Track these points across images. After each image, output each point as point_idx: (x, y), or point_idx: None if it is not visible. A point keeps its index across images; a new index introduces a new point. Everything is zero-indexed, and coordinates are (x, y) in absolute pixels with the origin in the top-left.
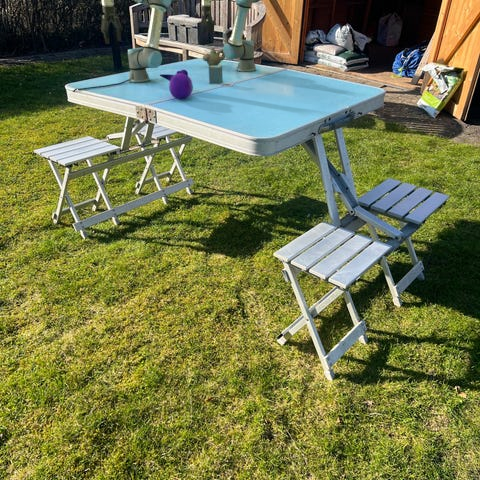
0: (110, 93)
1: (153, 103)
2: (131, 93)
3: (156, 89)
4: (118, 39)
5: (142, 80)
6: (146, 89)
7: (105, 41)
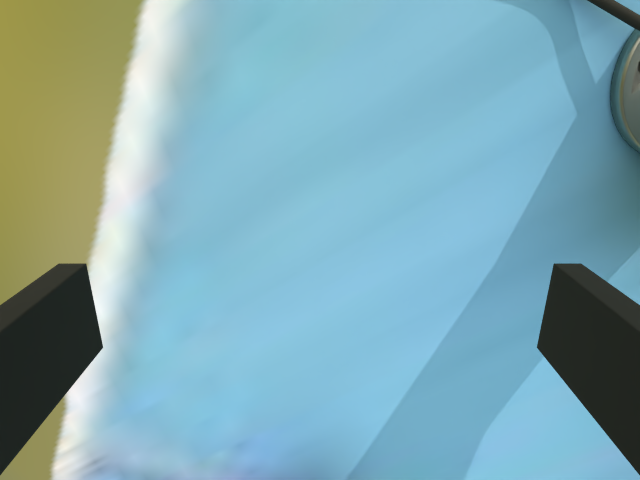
0: (229, 114)
1: (123, 465)
2: (277, 254)
3: (421, 338)
4: (566, 307)
5: (637, 144)
6: (408, 283)
7: (31, 290)
